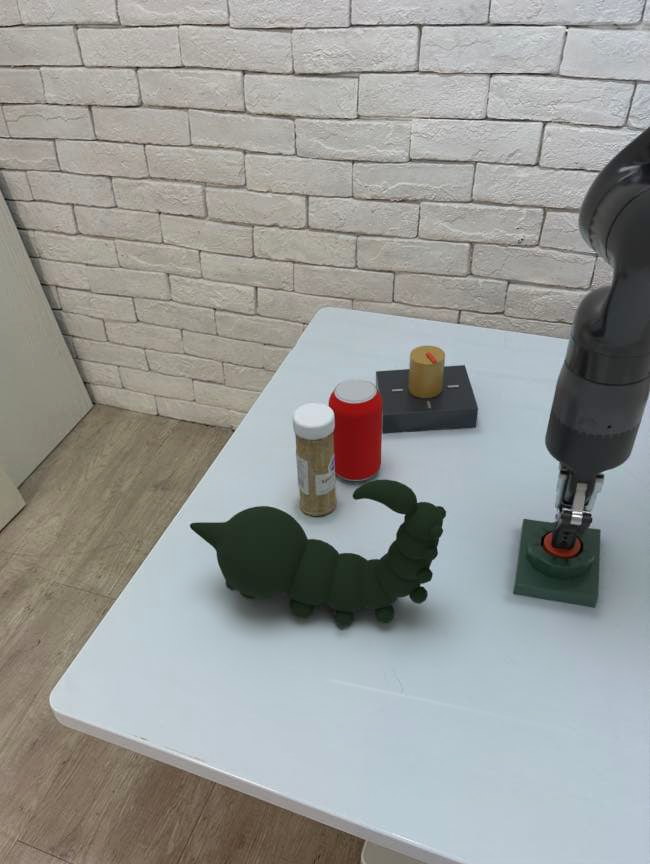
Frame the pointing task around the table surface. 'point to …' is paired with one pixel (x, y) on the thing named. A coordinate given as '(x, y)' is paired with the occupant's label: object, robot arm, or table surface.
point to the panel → (426, 402)
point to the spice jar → (315, 458)
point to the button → (558, 551)
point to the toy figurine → (328, 557)
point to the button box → (557, 567)
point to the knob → (426, 371)
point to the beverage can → (357, 429)
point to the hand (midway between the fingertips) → (562, 543)
